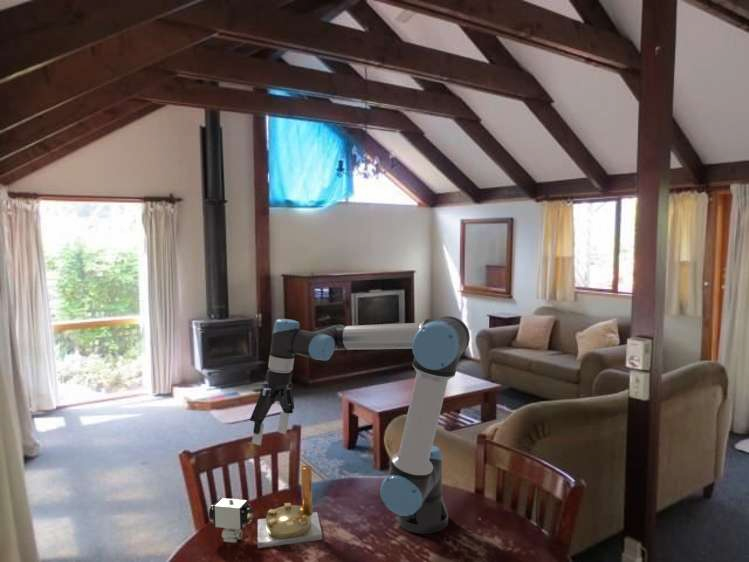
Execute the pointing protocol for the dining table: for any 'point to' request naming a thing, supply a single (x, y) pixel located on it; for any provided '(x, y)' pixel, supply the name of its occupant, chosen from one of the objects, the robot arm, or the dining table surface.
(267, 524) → the brass lugged disc
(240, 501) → the pneumatic valve
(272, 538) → the flange plate
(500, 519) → the dining table surface
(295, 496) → the dining table surface
